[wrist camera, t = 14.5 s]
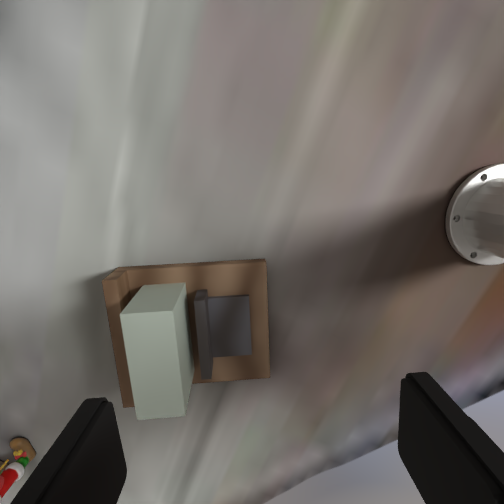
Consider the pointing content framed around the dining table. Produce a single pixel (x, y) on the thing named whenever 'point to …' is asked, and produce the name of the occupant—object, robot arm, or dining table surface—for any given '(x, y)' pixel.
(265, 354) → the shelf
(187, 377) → the pale green block
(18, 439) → the santa figurine
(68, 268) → the dining table surface
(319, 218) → the dining table surface
